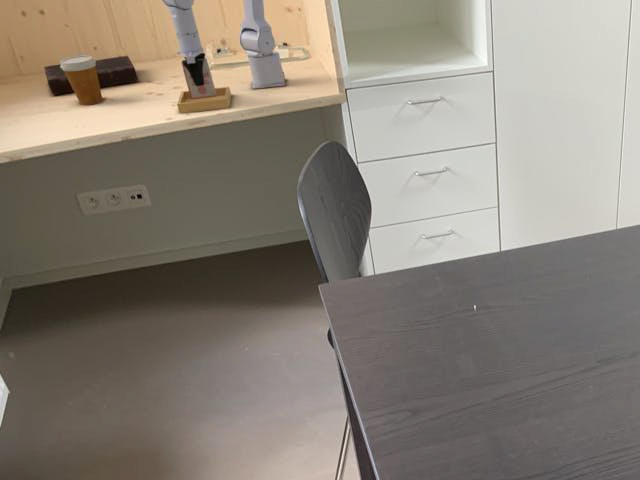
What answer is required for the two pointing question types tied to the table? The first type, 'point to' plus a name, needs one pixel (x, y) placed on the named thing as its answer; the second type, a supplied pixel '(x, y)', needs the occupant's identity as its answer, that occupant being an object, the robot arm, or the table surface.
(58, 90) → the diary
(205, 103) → the tray
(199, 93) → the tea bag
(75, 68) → the disposable coffee cup
